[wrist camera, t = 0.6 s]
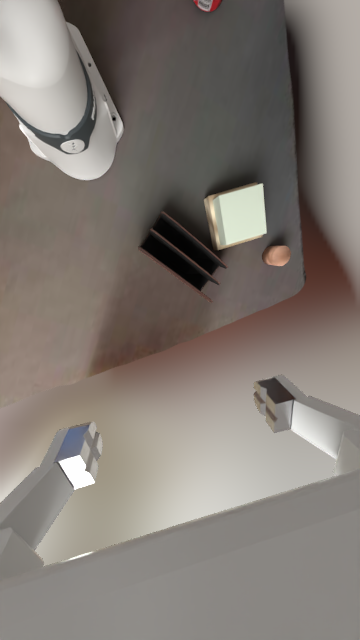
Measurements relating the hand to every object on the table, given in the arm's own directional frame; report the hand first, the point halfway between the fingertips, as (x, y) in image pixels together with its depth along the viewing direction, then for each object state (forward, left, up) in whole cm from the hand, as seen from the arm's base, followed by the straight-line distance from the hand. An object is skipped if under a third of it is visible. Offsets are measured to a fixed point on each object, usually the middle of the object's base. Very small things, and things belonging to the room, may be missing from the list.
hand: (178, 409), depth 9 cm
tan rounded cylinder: (+4, +34, -44) cm, 56 cm away
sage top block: (-8, +24, -41) cm, 48 cm away
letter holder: (-3, +9, -45) cm, 46 cm away
